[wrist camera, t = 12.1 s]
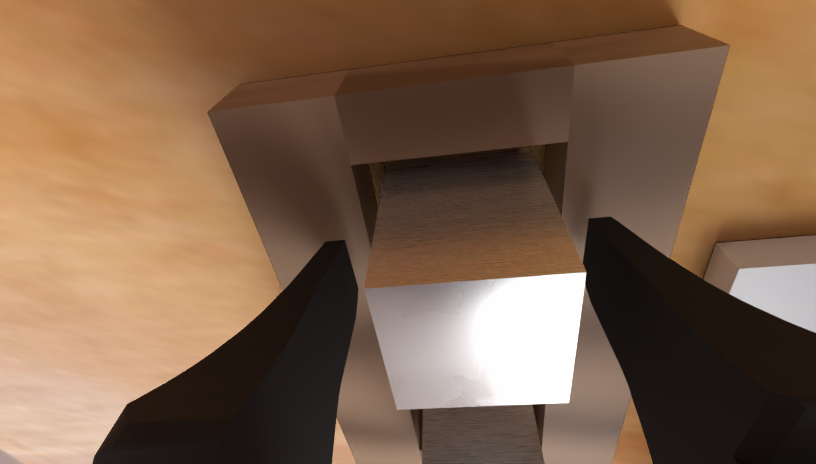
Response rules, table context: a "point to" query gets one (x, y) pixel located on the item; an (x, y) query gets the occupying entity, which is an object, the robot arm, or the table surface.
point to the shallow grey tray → (769, 276)
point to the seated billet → (481, 435)
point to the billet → (474, 282)
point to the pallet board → (471, 132)
